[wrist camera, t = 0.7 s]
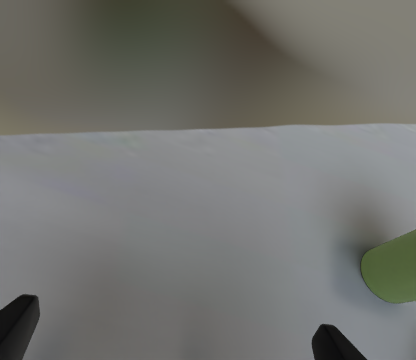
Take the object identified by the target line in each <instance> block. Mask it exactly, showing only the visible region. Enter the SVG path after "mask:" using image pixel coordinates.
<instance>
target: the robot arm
mask: <svg viewBox="0 0 416 360" xmlns="http://www.w3.org/2000/svg"><path fill="white" fill-rule="evenodd" d="M39 317H40V309H39V300H38V297H37V296H36V295H28V294H23V295H20V296H19V297H17V298H16V299H15V300H13V301H12V302H11V303H9V304H8V305H7V306H5V307H4V308H3V309H1V310H0V360H22V359H23V356H24V354H25V351H26V349H27V347H28V344H29V342H30V340H31V337H32V335H33V333H34V330H35V328H36V325H37V323H38V320H39ZM312 349H313V354H314V359H315V360H367V359H366V358H365V357H364V356H363V355H362V354H361V353H360V352H359V351H358V350H357V349H356V348H355V346H354V345H353V344H352V343H351V342H350V341H349V340H348V339H347V338H346V337H345V336H344V335H343V334H342V333H341V332H340V331H339V330H338V329H337V328H336V327H335V326H334V325H329V324H321V325H320V326H319V328H318V330H317V331H316V333H315V335H314V336H313V338H312Z"/></svg>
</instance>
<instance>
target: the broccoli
mask: <svg viewBox="0 0 416 360" xmlns="http://www.w3.org/2000/svg"><path fill="white" fill-rule="evenodd" d="M361 272H362V276H363V278H364V281H365V283H366V284H367V286H368V287H369V288H370V290H371V291H372V292H373V293H374V294H375V295H377V296H378V297H379V298H381V299H383V300H385V301H387V302H390V303H404V302H411V301H416V230H413V231H411V232H409V233H407V234H404V235H402V236H400V237H398V238H395V239H393V240H391V241H389V242H386V243H384V244H382V245H380V246H377V247H375V248H373V249H371V250H369V251H367V252H366V253H365V254H364V256H363V258H362V261H361Z"/></svg>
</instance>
